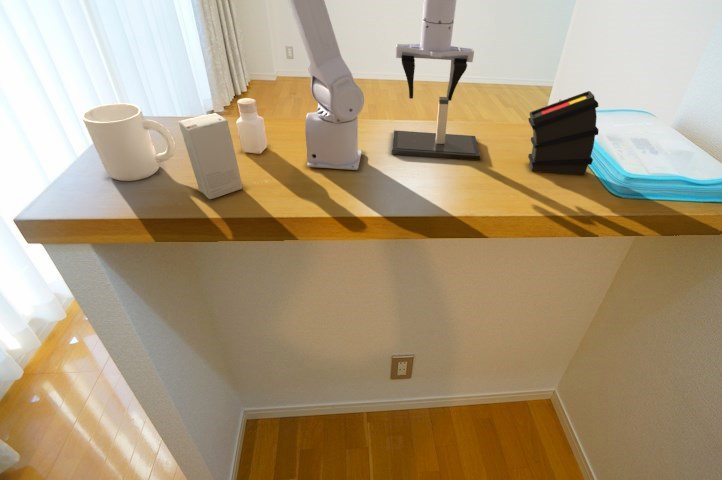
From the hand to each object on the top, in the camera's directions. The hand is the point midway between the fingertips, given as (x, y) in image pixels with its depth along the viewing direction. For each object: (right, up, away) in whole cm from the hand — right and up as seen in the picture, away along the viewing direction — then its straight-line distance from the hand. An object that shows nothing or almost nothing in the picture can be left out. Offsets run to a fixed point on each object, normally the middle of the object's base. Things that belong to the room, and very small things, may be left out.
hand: (429, 97), depth 83 cm
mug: (-51, -17, -10) cm, 55 cm away
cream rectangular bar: (+2, -8, +4) cm, 9 cm away
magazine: (+24, -15, 0) cm, 28 cm away
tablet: (+1, -9, +5) cm, 10 cm away
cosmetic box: (-36, -21, -13) cm, 44 cm away
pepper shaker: (-35, -11, -1) cm, 36 cm away
